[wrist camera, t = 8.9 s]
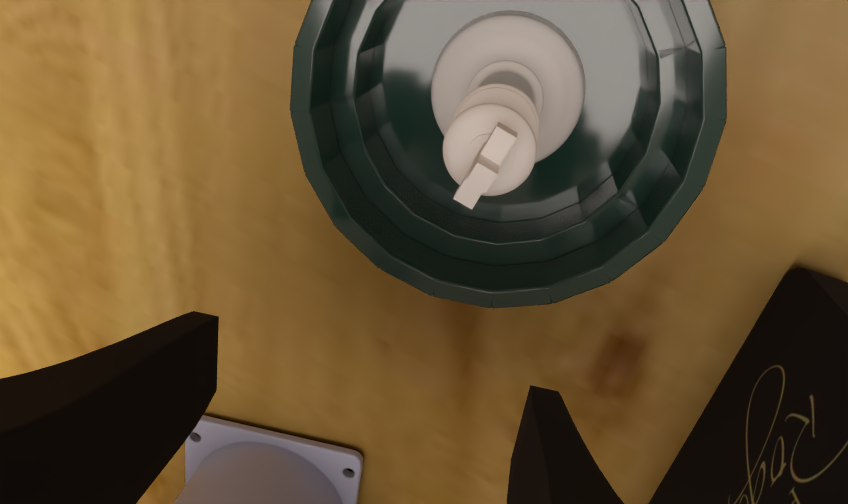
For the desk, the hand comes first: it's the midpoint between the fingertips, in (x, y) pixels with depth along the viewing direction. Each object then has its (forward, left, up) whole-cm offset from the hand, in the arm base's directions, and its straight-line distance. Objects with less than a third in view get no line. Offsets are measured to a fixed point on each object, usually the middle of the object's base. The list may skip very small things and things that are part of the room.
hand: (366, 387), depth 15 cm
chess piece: (+5, -2, -10) cm, 11 cm away
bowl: (+5, -2, -10) cm, 12 cm away
